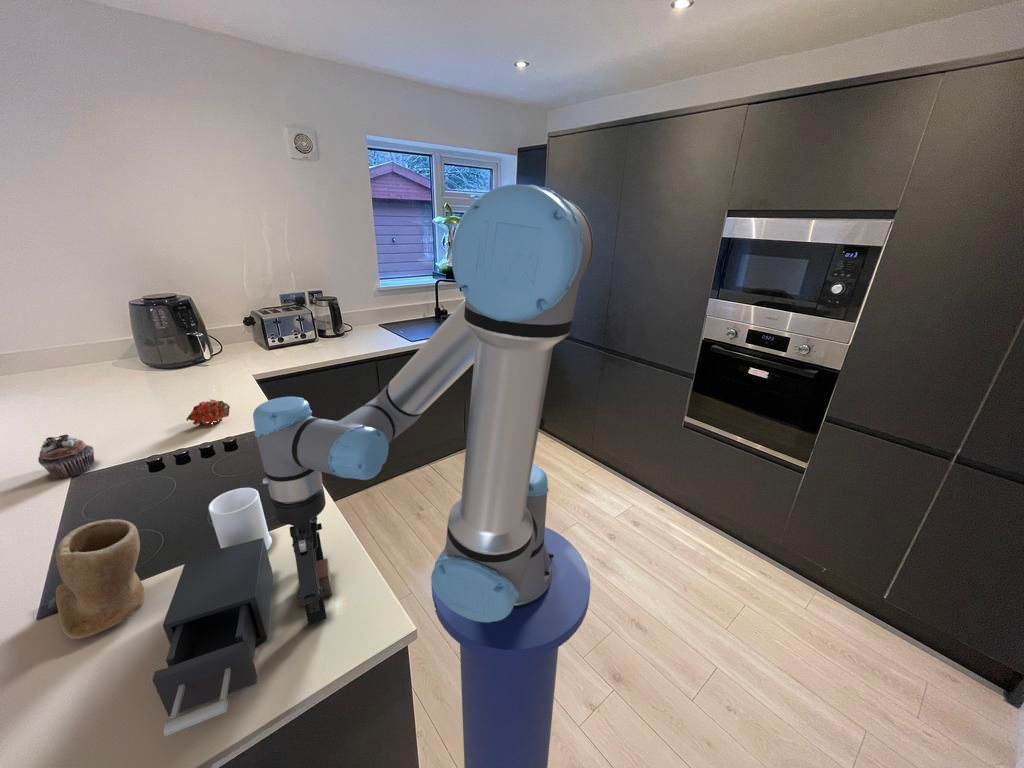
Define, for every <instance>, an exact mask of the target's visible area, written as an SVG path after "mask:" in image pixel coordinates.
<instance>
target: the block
mask: <svg viewBox="0 0 1024 768" xmlns="http://www.w3.org/2000/svg"><path fill="white" fill-rule="evenodd" d="M316 562H317V570H318V579H319V587H320V586H321V589H322V595H323V599H325V598H326V597H327V598H328V597H330V596H332V595H333V587H332V575H331V569H330V564H329V559H328V558H327V557H326V558H324V559H323V560H319V561H316Z"/></svg>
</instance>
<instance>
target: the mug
mask: <svg viewBox="0 0 1024 768" xmlns="http://www.w3.org/2000/svg"><path fill="white" fill-rule="evenodd" d="M208 512H209V515H210V519H211V522H212V526H213V528H214V532H215V534H216V538H217V541H218V544H219V547H220V548H219V549H221V548H225V547H229V546H233V545H237V544H241V543H245V542H249V541H252V540H256V539H260V538H264V542H265V545H266V549H267V551H268V550H270V549H271V548H270V547H271V546H272V543H273V539H272V537H271V535H270V533H269V529H268V525H267V521H266V517H265V514H264V508H263V505H262V501H261V498H260V493H259V491H258V490H257V489H255V488H253V487H240V488H235V489H232V490H229V491H226V492H223V493H221V494H219V495H218V496H216V497H215V498H214V499H212V500H211V502H209V504H208Z"/></svg>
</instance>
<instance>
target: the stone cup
mask: <svg viewBox="0 0 1024 768" xmlns="http://www.w3.org/2000/svg"><path fill="white" fill-rule="evenodd" d="M140 550H141V541H140V535H139V531H138V528H137V526H136V525H135V524H134V523H132V522H131V521H128V520H126V519H125V520H124V519H113V518H111V519H102V520H96V521H93V522H88V523H86V524H83V525H81V526H79V527H77V528H75V529H73V530H71V531H70V532H69V533H67V534H66V535H65V536H64V537H63V538H62V539H60V541H59V543H58V544H57V545H56V548H55V560H56V566H57V570H58V573H59V577H60V579H61V581H62V583H60V584H59V585H57V587H56V589H55V603H56V607H57V608H56V609H57V610H58V618H59V623H60V626H61V628H62V632H63V633H64V635H65V636H66V637H68V638H69V639H71V640H80V639H81V640H82V639H84V638H88V637H91V636H94V635H97V634H99V633H101V632H104V631H106V630H108V629H110V628H112V627H114V626H116V625H118V624H119V623H121V622H123V621H124V620H127V619H128V618H129V617H131V615H132V614H133V613H135V612H136V611H138V610H140V609H141V608H142V606H143V604H144V601H145V600H144V599H145V589H144V586H143V583H142V581H141V579H140V577H139V576H138V574H137V572H136V566H137V563H138V559H139V556H140V552H141V551H140Z"/></svg>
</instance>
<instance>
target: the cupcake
mask: <svg viewBox="0 0 1024 768" xmlns="http://www.w3.org/2000/svg"><path fill="white" fill-rule="evenodd" d="M94 452H95V451H94V447H93V445H88V444H87V443H86V442H85V441H84V440H82V439H79V438H77V437H75V436H70V435H69V434H62V435H59V436H56V437H55V436H54V437H52V436H49V437H46V438H45V440H44V441H43V444H42V445H41V446H40V450H39V455H38V458H37V460H38V464H39V465H41V466H42V467H43V468H44V469H45V470H46V471H47V472H48V473H49V474H50V476H51V477H52V478H53V479H56V480H62V479H68V478H72V477H77V476H80V475H82V474H84V473H87V472H89V471H91V470H92V469H93V468H94V467H95V465H96V464H95V453H94Z"/></svg>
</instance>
